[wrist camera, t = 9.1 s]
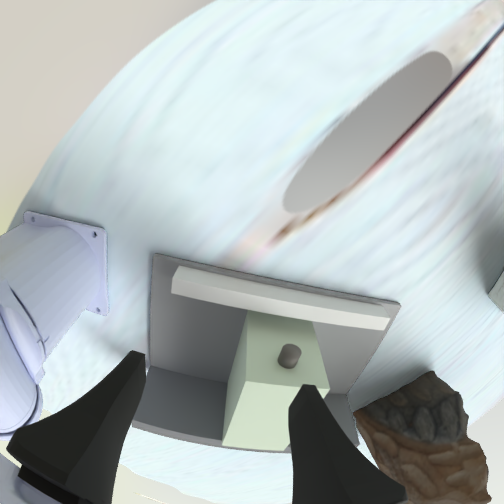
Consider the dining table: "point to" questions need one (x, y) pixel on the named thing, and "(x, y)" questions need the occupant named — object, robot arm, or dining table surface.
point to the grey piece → (227, 339)
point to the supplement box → (498, 293)
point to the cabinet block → (270, 379)
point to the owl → (426, 443)
